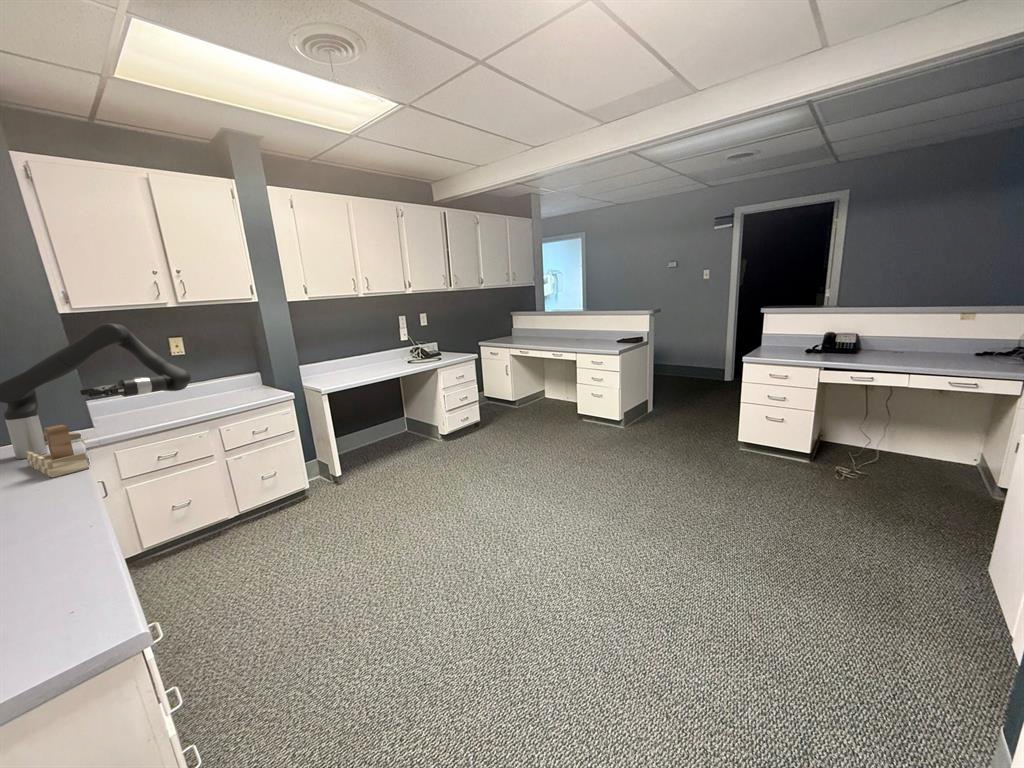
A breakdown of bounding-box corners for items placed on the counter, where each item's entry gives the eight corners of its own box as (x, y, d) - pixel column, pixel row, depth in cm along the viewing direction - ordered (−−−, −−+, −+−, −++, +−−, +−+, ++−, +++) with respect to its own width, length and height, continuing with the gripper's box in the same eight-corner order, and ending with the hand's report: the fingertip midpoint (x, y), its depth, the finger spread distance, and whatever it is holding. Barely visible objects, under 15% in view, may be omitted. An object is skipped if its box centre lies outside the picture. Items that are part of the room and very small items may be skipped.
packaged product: (35, 434, 198) (62, 428, 207) (38, 444, 199) (65, 438, 208) (59, 436, 193) (86, 430, 202) (61, 446, 194) (88, 440, 203)
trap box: (29, 466, 166) (25, 451, 165) (64, 458, 175) (61, 443, 173) (52, 478, 152) (47, 461, 151) (89, 468, 161) (85, 453, 160)
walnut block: (52, 463, 157) (43, 428, 155) (71, 459, 162) (62, 424, 159) (57, 465, 155) (47, 429, 152) (75, 461, 159) (67, 426, 157)
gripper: (127, 377, 184) (76, 383, 171) (140, 378, 177) (88, 385, 163) (130, 393, 186) (80, 401, 172) (143, 396, 179) (92, 404, 165)
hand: (84, 393), depth 168 cm, fingers open, 8 cm apart
